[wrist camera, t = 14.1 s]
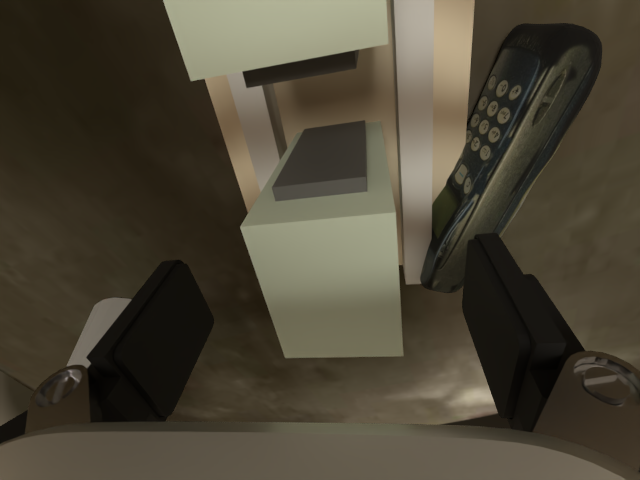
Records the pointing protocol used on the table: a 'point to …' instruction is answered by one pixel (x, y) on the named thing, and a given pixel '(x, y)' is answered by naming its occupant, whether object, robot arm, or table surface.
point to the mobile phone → (510, 139)
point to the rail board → (338, 87)
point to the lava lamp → (97, 328)
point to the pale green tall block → (330, 245)
